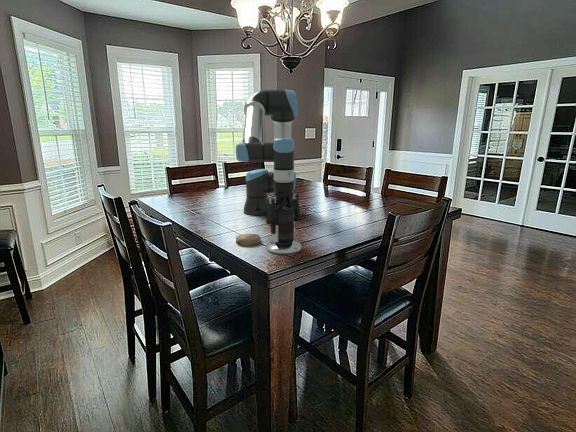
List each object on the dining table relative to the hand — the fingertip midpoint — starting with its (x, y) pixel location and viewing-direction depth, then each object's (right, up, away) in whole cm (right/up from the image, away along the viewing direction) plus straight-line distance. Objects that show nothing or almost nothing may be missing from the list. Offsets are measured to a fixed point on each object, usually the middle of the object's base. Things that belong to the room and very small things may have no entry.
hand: (283, 238), depth 132 cm
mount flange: (0, -4, +1) cm, 4 cm away
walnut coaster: (-15, -2, +8) cm, 17 cm away
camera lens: (0, -2, 0) cm, 3 cm away
